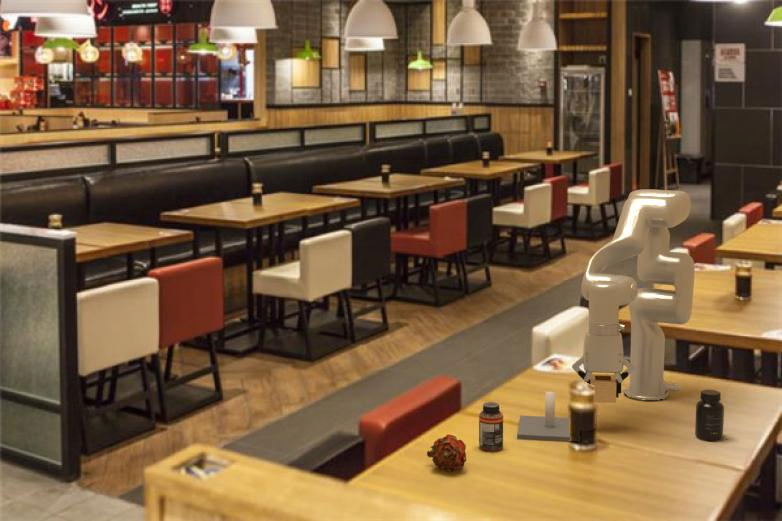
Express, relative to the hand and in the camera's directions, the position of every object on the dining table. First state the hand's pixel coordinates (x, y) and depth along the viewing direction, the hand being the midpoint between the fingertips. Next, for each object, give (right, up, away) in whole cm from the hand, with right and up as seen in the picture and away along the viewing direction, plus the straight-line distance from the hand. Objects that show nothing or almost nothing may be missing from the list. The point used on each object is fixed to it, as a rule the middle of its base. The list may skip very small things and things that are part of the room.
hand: (602, 395), depth 262 cm
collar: (0, -1, 0) cm, 1 cm away
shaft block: (-14, -9, +1) cm, 17 cm away
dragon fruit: (-42, -14, -25) cm, 51 cm away
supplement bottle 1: (-30, -12, -12) cm, 35 cm away
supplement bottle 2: (+26, -10, -5) cm, 28 cm away
